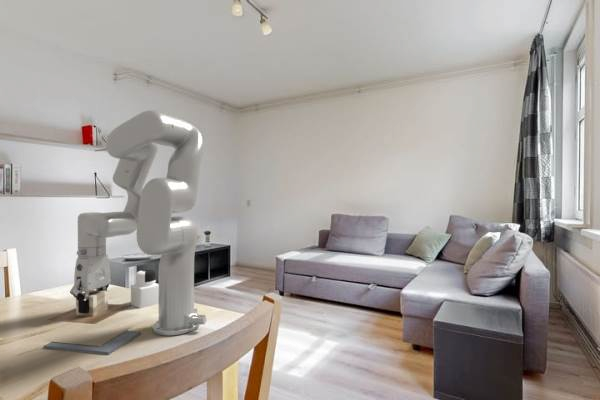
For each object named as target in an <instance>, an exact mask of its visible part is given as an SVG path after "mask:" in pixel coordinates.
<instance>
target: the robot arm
mask: <svg viewBox="0 0 600 400" xmlns="http://www.w3.org/2000/svg"><path fill="white" fill-rule="evenodd" d="M159 145H161V146H166V147H170V148H171V147H172V148H173V149H175V150H174V151H173V152H172V154H171V156H170V157H169V159H168V162H167V163H168V165H167V173H166V177H163V176H162V177H161V176H160V177H154V178H152V179H149V181H147V182H146V180H147V177H148V175H149V172H150V169H151V168H152V165H153V163H154V160H155V158H156V156H157V155H156V154H157V152H158V149H159V147H158V146H159ZM105 149H106V152H107V153H108V155H110V157H112V158H115V159H118V163H117V165H116V168H115V171H114V173H113V175H112V182H113V183H114V184H115V185H116V186H117V187H119V188H120V189H123V190H125V191H126V193H127V202H126V205H125V207H124V209H123V211H111V212H109V211H108V212H99V211H98V212H97V211H96V212H93V211H91V212H82V213H79V215H78V216H77V251H76V255H77V258H76V259H75V260H76V262H75V265H74V266H75V267H74V268H75V269H74V279H73V280H74V282H73V285H72V287H71V288H70V290H69V293H70V294H71V295H72V296H73V297H74V298H75V301H76V300H78V312H79V313H89V300H87V298H88V295H89V291H92V290H99V291H108V288H109V286H110V284H111V282H112V280H113V279H112V277H111V275H112V274H111V264H110V260H109V256H108V253H107V238H113V237H114V238H115V237H119V236H127V235H130V234H133V233H135V232H136V242H137V246H138V248H139V249H140V251H141V252H142V253H144V254H145V255H147V256H159V255H160V259H159V263H158V284H159V304H158V320H157V321H155V322H153V324H152V332H153V333H155V334H157V335H160V336H178V335H182V334H186V333H190V332H192V331H194V330H195V329H197V328H198V327H199V326H200V325H206V323H207V316H206V314H199V312H198V308H195V254H196V253H195V252H196V248H197V242H198V228H197V225H196V224H195V222H194V221H193V220H191V219H190V218H189V217H185V216H173V214H175V213H176V214H177V213H185V212H189V211H190V210H193V209H194V207H195V205H196V203H197V198H198V188H199V179H200V170H201V162H202V158H203V157H202V156H203V153H204V139H203V135H202V133H201V131H200V130H199V129H198V128H197V127H196V126H194V124H192V123H190V121H189V122H188V121H187V120H184V119H182V118H180V117H176V116H173V115H170V114H166V113H164V112H161V111H158V110H153V109H152V110H151V109H150V110H145V111H142V112H140V113H137V114H136V115H135V116H133V117H131V118H129V119H128V120H126V121H124V122H123V123H120V124H119V125H117V126H116V127H114V129H113V130H112V131H110V133H108V136H107V138H106V140H105ZM145 182H146V183H145ZM82 293H84V295H83V294H82Z"/></svg>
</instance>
